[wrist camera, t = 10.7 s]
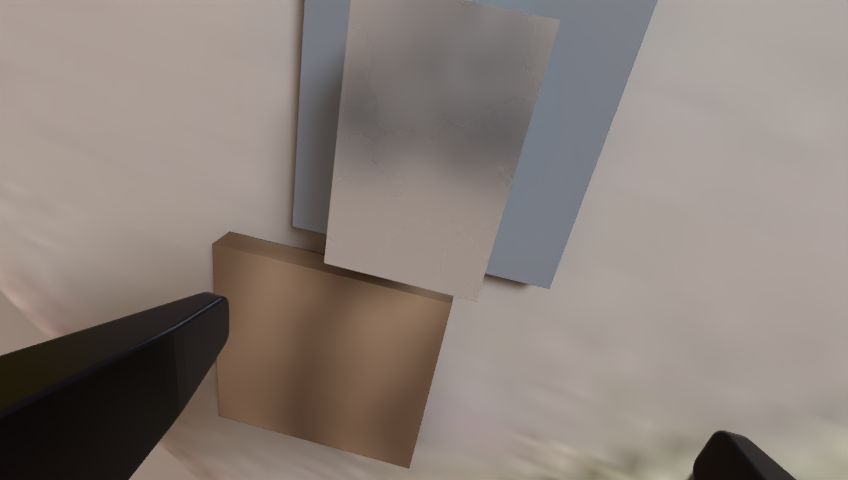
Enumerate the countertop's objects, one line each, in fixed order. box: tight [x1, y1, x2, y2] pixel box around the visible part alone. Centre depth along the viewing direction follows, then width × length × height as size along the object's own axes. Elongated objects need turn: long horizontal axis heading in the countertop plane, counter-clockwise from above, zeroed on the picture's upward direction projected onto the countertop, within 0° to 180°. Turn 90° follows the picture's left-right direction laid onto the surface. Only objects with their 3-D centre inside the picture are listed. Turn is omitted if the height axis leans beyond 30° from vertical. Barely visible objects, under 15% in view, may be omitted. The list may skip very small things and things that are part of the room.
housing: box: [324, 0, 560, 302], centre depth 14 cm, size 8×5×6 cm, turn 169°
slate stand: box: [292, 0, 657, 289], centre depth 18 cm, size 12×12×2 cm
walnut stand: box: [212, 232, 453, 468], centre depth 24 cm, size 12×12×2 cm
